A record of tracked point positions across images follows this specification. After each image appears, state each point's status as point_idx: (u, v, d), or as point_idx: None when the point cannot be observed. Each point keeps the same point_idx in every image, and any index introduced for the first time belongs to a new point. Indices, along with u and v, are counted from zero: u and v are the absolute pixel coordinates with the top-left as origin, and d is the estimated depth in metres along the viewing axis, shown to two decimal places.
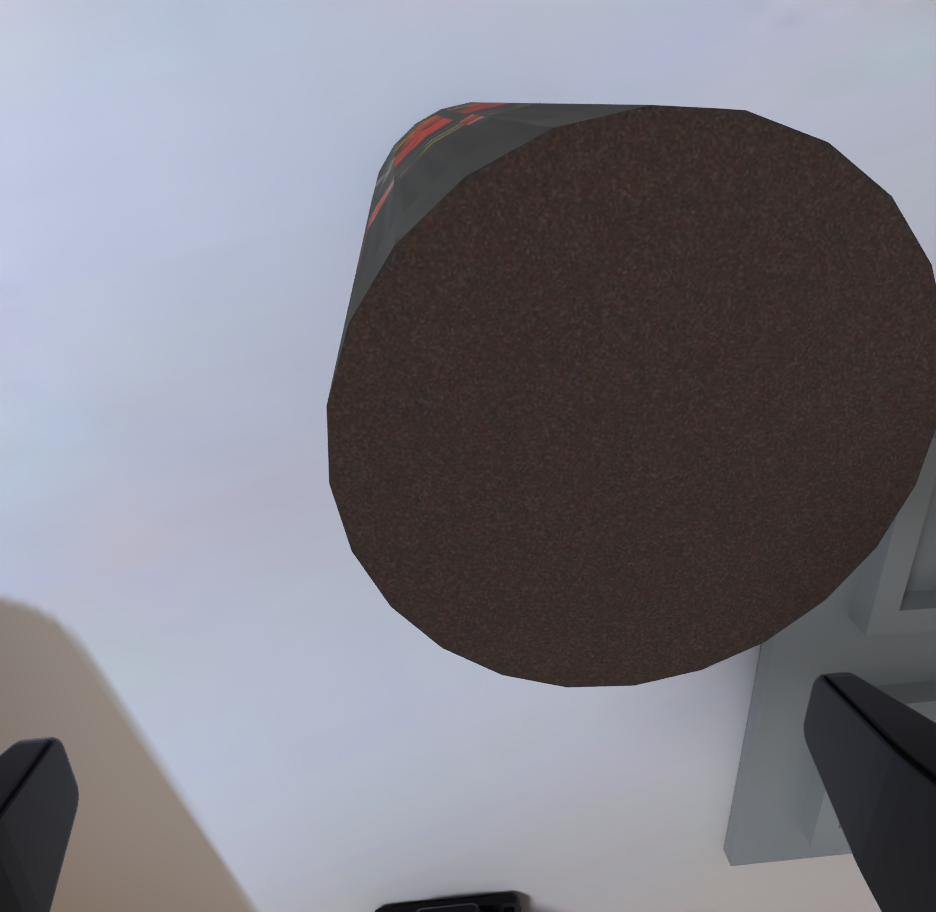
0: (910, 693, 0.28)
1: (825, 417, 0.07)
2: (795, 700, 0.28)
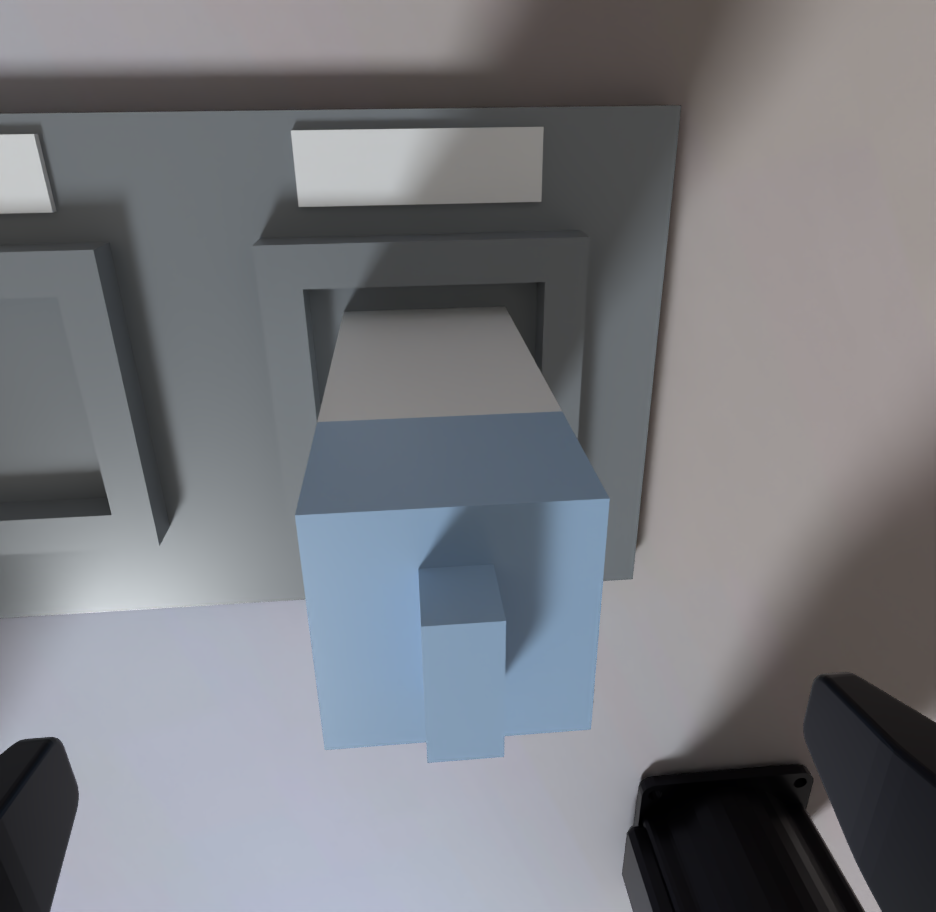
0: None
1: None
2: None
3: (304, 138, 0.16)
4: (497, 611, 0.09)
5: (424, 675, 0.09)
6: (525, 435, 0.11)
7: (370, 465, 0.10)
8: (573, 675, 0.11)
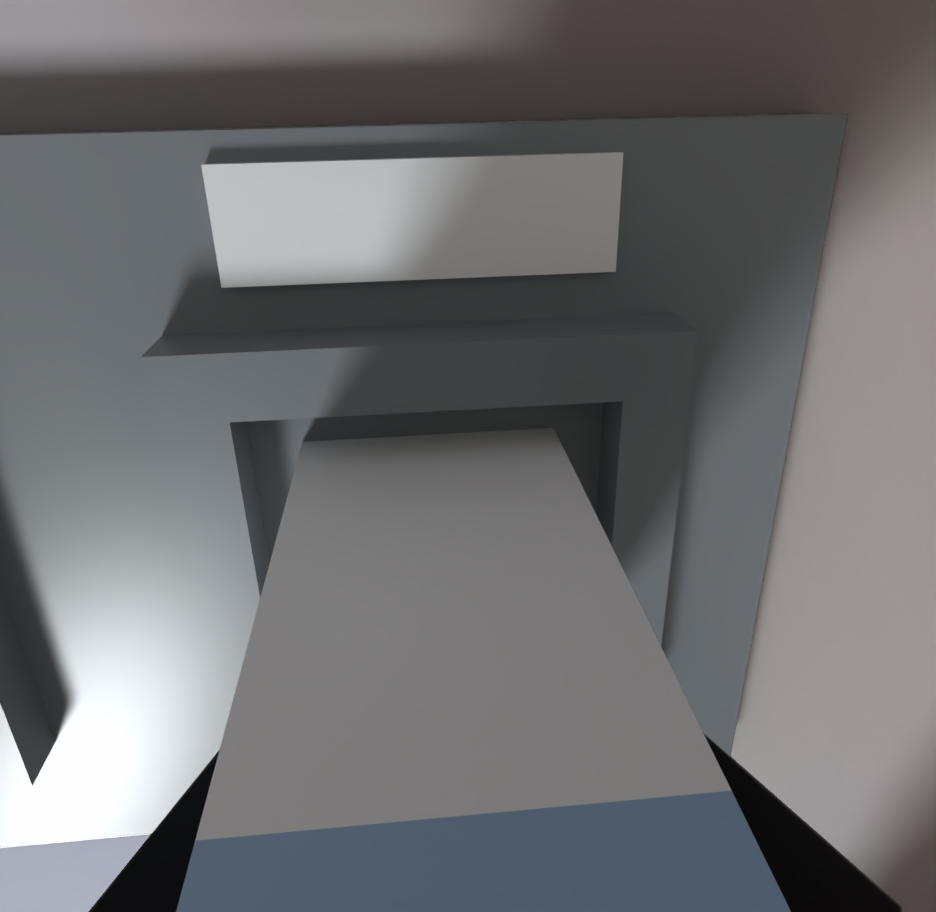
0: None
1: None
2: None
3: (225, 177, 0.10)
4: None
5: None
6: None
7: None
8: None
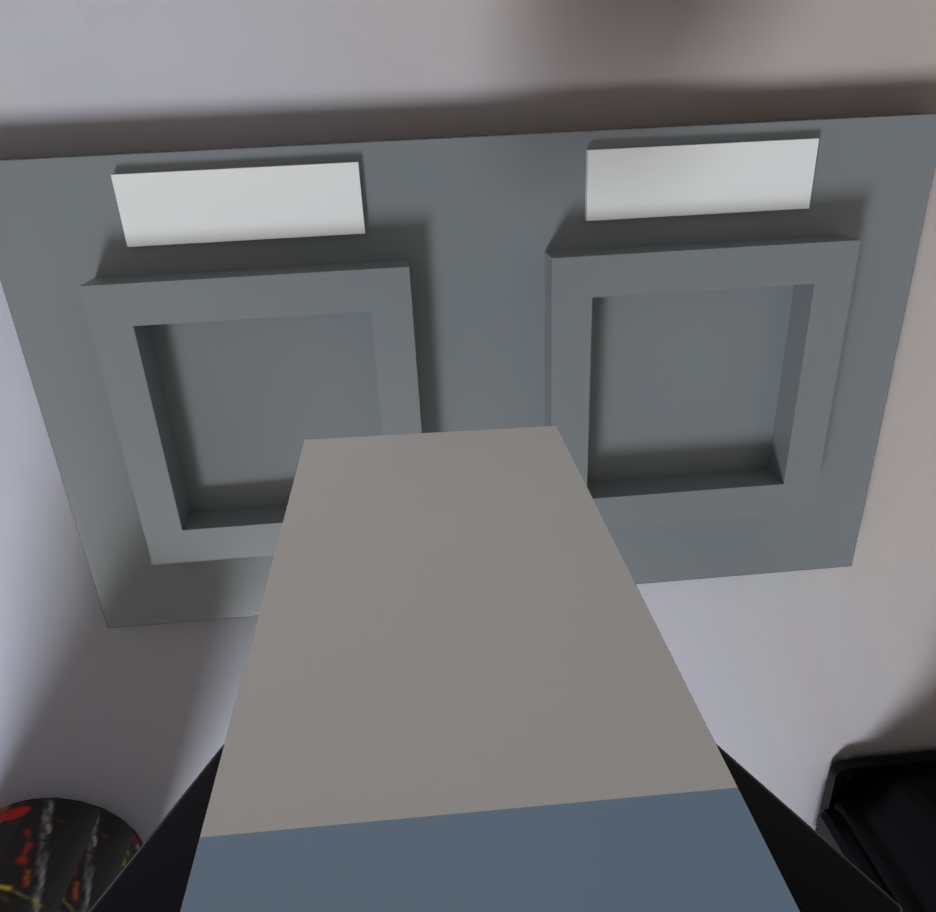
0: None
1: None
2: None
3: (599, 157, 0.18)
4: None
5: None
6: None
7: None
8: None
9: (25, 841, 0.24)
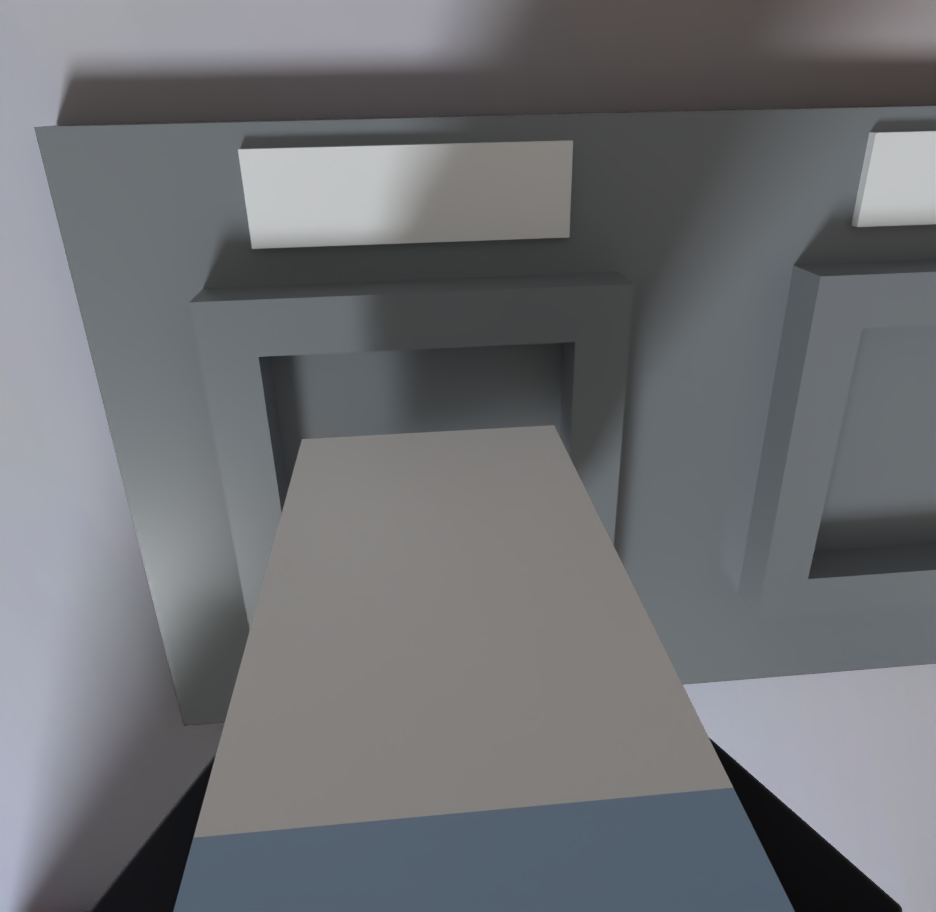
0: (766, 499, 0.16)
1: None
2: (745, 638, 0.18)
3: (888, 142, 0.13)
4: None
5: None
6: None
7: None
8: None
9: None
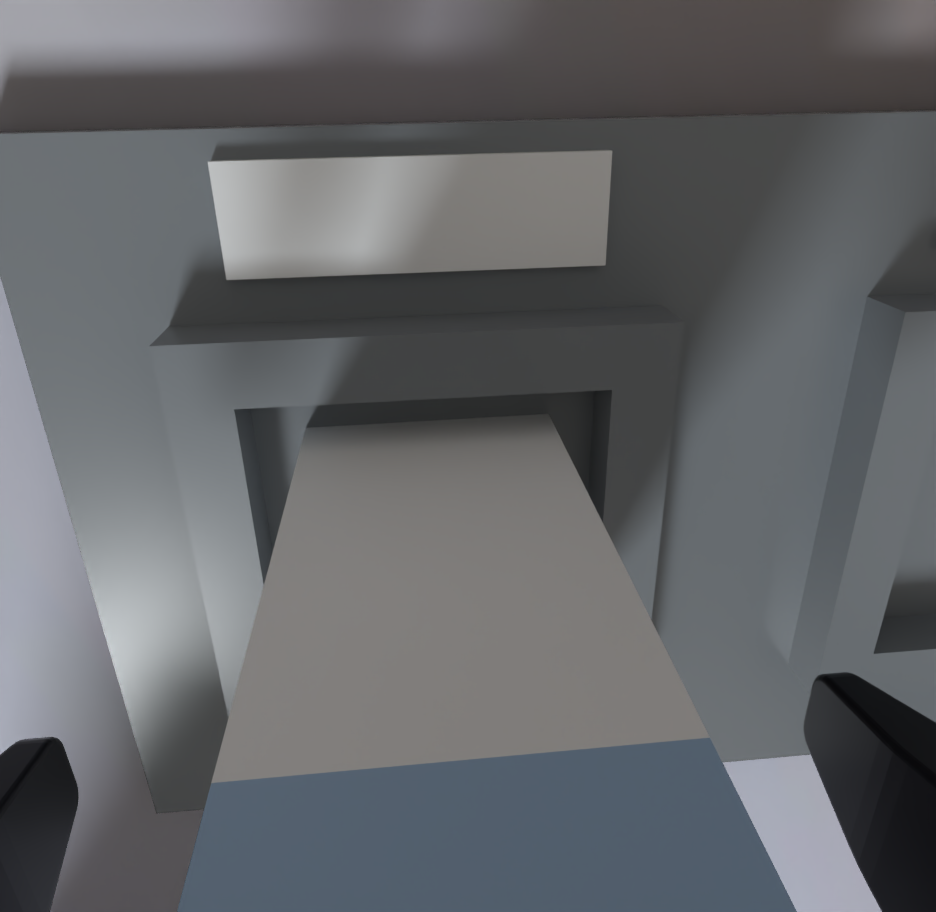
0: (827, 564, 0.14)
1: None
2: (794, 712, 0.16)
3: None
4: None
5: None
6: (653, 846, 0.05)
7: None
8: None
9: None
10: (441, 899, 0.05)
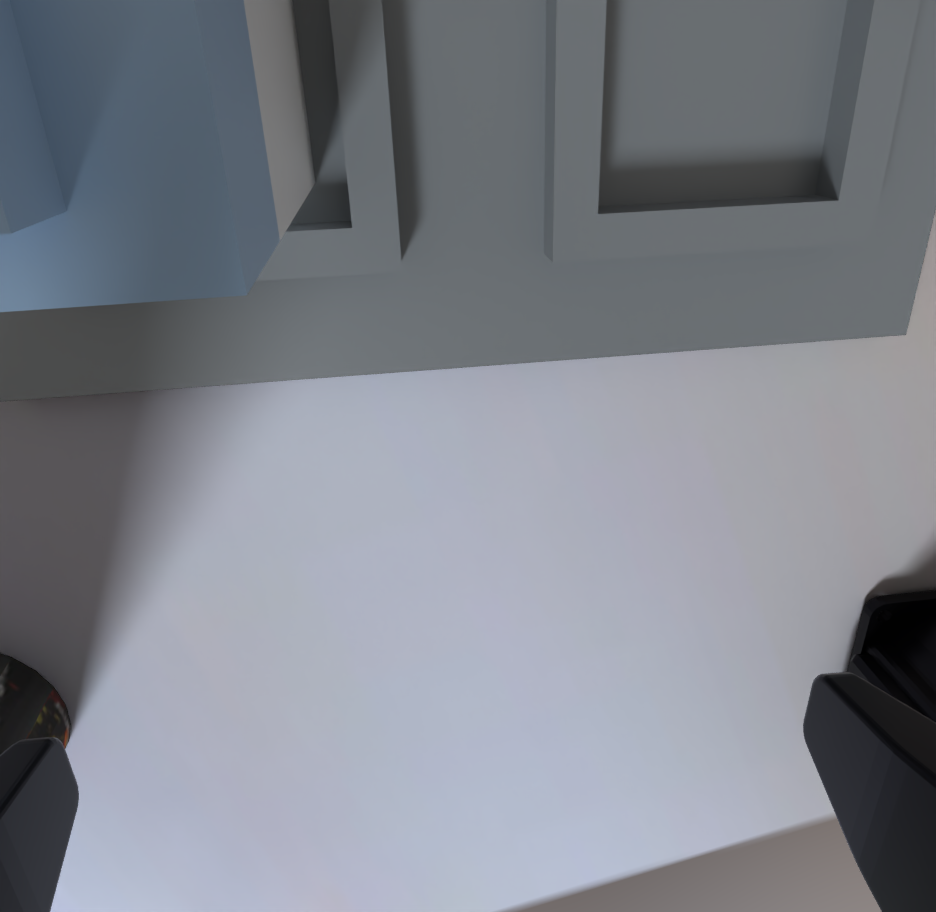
0: (549, 126, 0.16)
1: None
2: (558, 310, 0.18)
3: None
4: None
5: None
6: None
7: None
8: (191, 182, 0.07)
9: None
10: None
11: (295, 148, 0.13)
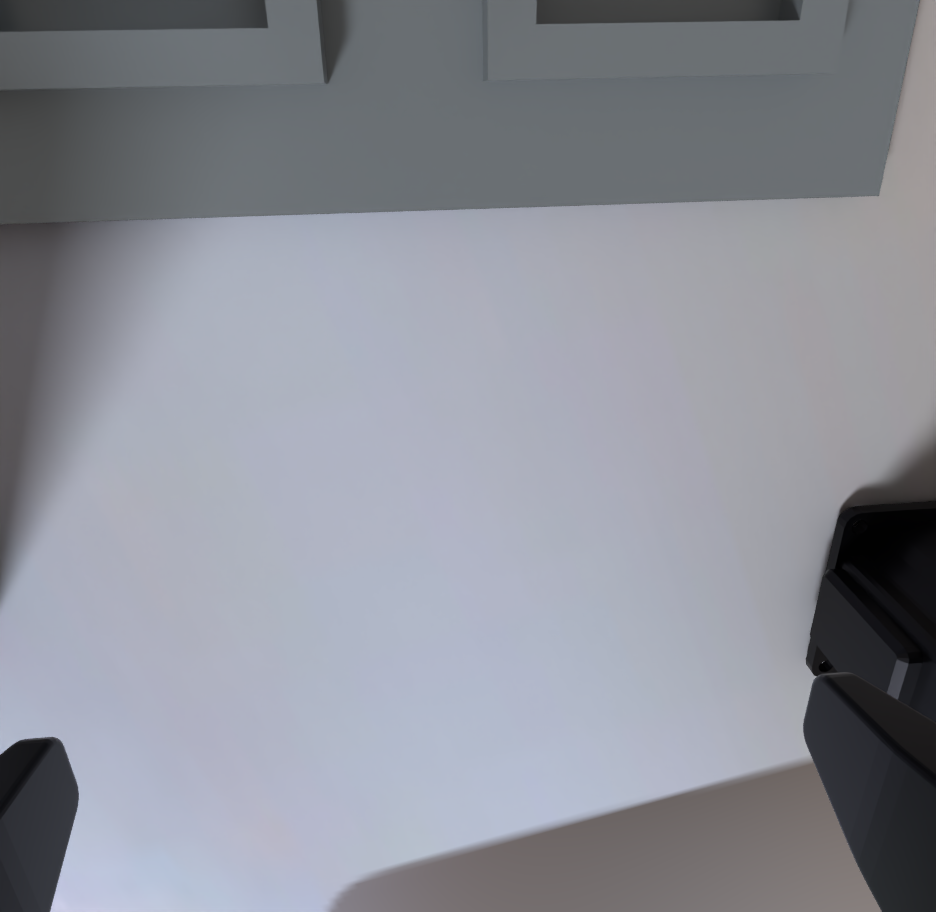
0: None
1: None
2: (500, 148, 0.17)
3: None
4: None
5: None
6: None
7: None
8: None
9: None
10: None
11: None
